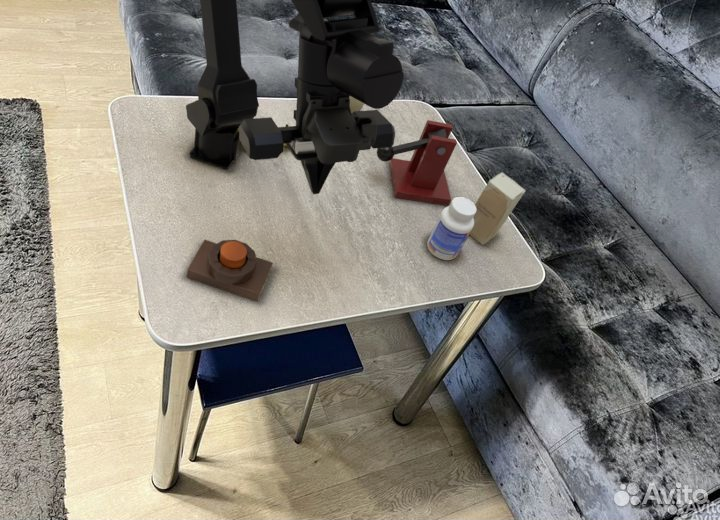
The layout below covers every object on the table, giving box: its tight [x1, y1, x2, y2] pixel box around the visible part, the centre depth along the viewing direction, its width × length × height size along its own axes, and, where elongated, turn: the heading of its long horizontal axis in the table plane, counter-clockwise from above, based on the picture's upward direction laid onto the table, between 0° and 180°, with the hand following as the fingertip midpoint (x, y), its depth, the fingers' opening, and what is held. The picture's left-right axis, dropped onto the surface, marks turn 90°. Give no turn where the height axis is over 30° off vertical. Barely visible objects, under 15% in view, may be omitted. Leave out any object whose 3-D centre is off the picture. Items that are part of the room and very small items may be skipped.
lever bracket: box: [388, 119, 458, 206], centre depth 101 cm, size 10×9×12 cm
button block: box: [186, 239, 274, 302], centre depth 80 cm, size 10×6×4 cm, turn 78°
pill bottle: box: [426, 196, 476, 261], centre depth 92 cm, size 5×5×10 cm
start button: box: [220, 241, 247, 269], centre depth 78 cm, size 3×3×2 cm
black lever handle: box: [376, 129, 447, 163], centre depth 98 cm, size 12×3×3 cm, turn 94°
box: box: [469, 171, 526, 246], centre depth 97 cm, size 5×4×11 cm
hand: (314, 192), depth 78 cm, fingers closed
